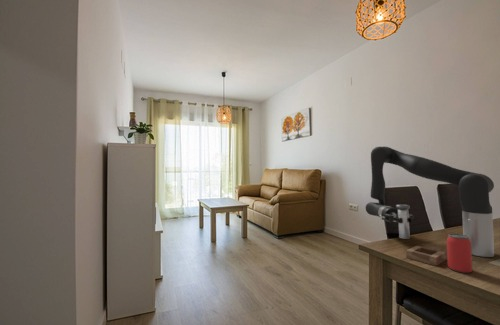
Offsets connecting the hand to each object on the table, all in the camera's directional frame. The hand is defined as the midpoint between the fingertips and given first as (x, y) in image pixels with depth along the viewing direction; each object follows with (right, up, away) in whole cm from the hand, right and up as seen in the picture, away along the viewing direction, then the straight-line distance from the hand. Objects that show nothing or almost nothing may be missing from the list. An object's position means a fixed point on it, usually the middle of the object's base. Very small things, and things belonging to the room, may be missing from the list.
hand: (406, 220), depth 105 cm
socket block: (+1, -13, -10) cm, 16 cm away
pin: (+1, -8, +2) cm, 8 cm away
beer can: (+5, -12, -20) cm, 25 cm away
